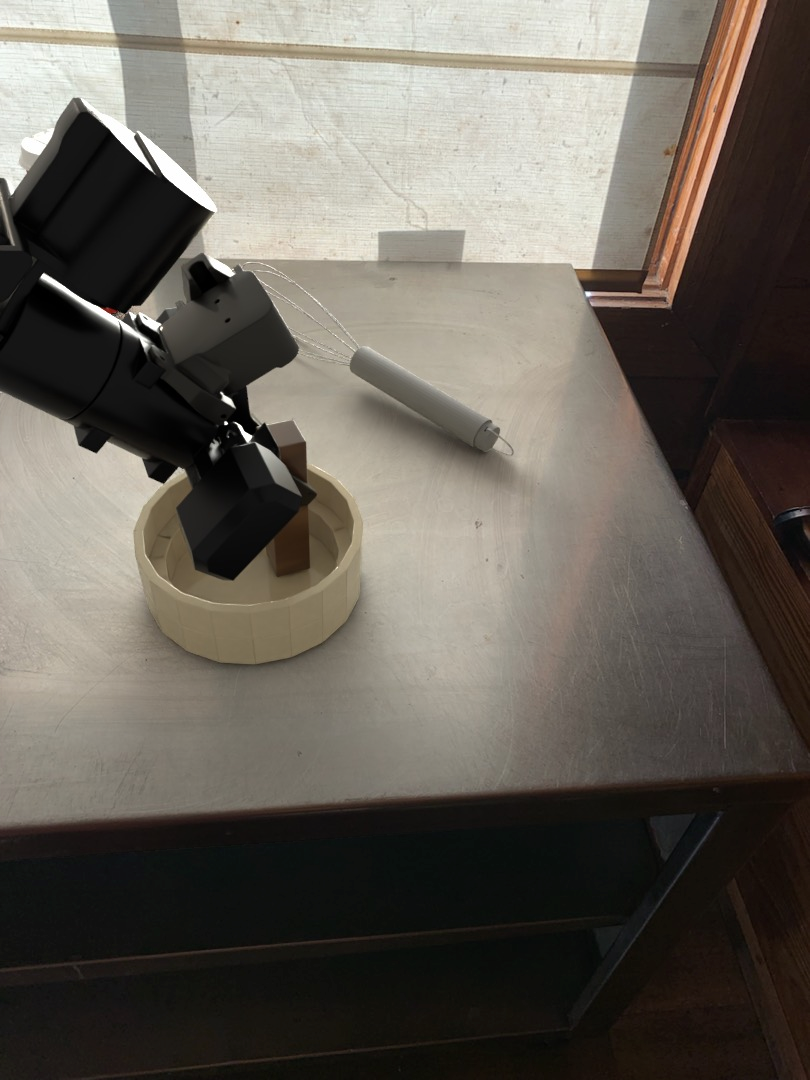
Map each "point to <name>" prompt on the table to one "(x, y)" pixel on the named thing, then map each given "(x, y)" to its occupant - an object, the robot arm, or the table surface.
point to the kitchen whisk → (407, 387)
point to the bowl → (252, 581)
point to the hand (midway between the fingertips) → (304, 485)
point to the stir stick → (293, 539)
